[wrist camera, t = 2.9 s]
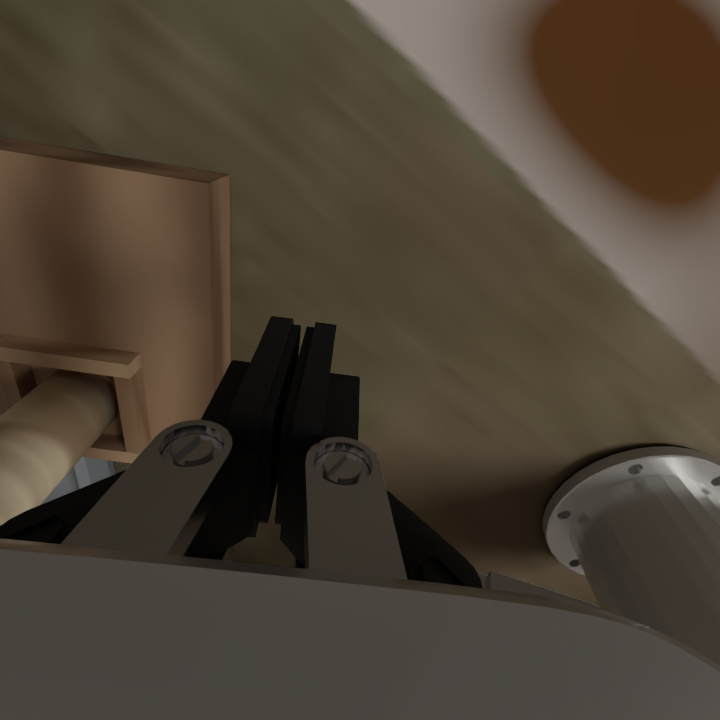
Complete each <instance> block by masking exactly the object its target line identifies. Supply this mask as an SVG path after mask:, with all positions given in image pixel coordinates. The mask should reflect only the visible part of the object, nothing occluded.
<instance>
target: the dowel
mask: <svg viewBox="0 0 720 720" xmlns="http://www.w3.org/2000/svg"><path fill="white" fill-rule="evenodd" d="M119 412H120V411H119V405H118V399H117V393H116V390H115V388H114V387H113V386H112V385H111V384H110V383H109V382H108V381H107V380H106V379H105V378H104V377H102V376H101V375H99V374H92V373H85V372H78V371H71V370H63V369H59V370H57V371H56V372H55V373H53V374H52V375H51V376H50V377H48V378H47V379H46V380H45V381H43V382H42V383H41V384H40V385H38V386H37V387H36V388H35V389H33V390H32V391H31V392H30V393H28V394H27V395H26V396H24V397H23V398H22V399H21V400H19V401H18V402H17V403H16V404H14V405H13V406H12V407H11V408H9V409H8V410H7V411H6V412H4V413H3V414H2V415H1V416H0V525H3V524H4V523H5V522H7V521H8V520H9V519H11V518H13V517H15V516H17V515H19V514H21V513H23V512H25V511H27V510H29V509H32V508H34V507H37V506H39V505H41V503H42V502H43V501H44V500H45V499H46V498H47V496H48V495H49V494H50V493H51V492H52V491H53V490H54V488H55V487H56V486H57V485H58V484H59V483H60V481H61V480H62V479H63V478H64V477H65V476H66V475H67V473H68V472H69V471H70V470H71V469H72V468H73V467H74V465H75V464H76V463H77V462H78V461H79V460H80V458H81V457H82V456H83V455H84V454H85V453H86V452H87V450H88V449H89V448H90V447H91V446H92V445H93V443H94V442H95V441H96V440H97V439H98V438H99V437H100V435H101V434H102V433H103V432H104V431H105V430H106V428H107V427H108V426H109V425H110V424H111V423H112V422H113V420H114V419H115V418H116V417H117V416H118V414H119Z"/></svg>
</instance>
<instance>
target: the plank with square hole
mask: <svg viewBox="0 0 720 720" xmlns="http://www.w3.org/2000/svg"><path fill="white" fill-rule="evenodd" d="M230 363H231V362H230V175H229V174H223V173H217V172H211V171H205V170H199V169H193V168H187V167H180V166H174V165H168V164H162V163H156V162H150V161H144V160H138V159H131V158H125V157H119V156H113V155H107V154H101V153H95V152H89V151H83V150H76V149H70V148H64V147H58V146H52V145H46V144H40V143H34V142H28V141H21V140H15V139H9V138H3V137H0V412H1V415H2V414H3V413H4V412H6V411H7V410H8V409H9V408H11V407H12V406H13V405H14V404H16V403H17V402H18V401H19V400H21V399H22V398H23V397H24V396H26V395H27V394H28V393H30V392H31V391H32V390H33V389H35V388H36V387H37V386H38V385H40V384H41V383H42V382H43V381H45V380H46V379H47V378H48V377H50V376H51V375H52V374H53V373H55V372H56V371H57V370H59V369H63V370H71V371H78V372H85V373H92V374H99V375H101V376H102V377H104V378H105V379H106V380H107V381H108V382H109V383H110V384H111V385H112V386H113V387H114V388H115V390H116V393H117V399H118V405H119V411H120V412H119V414H118V416H117V417H116V418H115V419H114V420H113V422H112V423H111V424H110V425H109V426H108V427H107V428H106V430H105V431H104V432H103V433H102V434H101V435H100V437H99V438H98V439H97V440H96V441H95V442H94V443H93V445H92V446H91V447H90V448H89V449H88V450H87V452H86V453H85V454H84V455H83V456H82V457H86V458H94V459H101V460H109V461H116V462H124V463H133V461H134V460H135V459H136V458H137V457H138V456H139V455H140V454H141V452H142V451H143V450H144V449H145V448H146V447H147V446H148V445H149V443H150V442H151V441H152V440H153V439H154V438H155V437H156V436H157V435H158V434H159V433H160V432H161V431H163V430H164V429H165V428H167V427H169V426H171V425H173V424H176V423H180V422H183V421H188V420H201V418H202V416H203V414H204V412H205V410H206V408H207V406H208V405H209V403H210V401H211V399H212V397H213V395H214V393H215V391H216V389H217V387H218V385H219V384H220V382H221V380H222V378H223V376H224V374H225V372H226V370H227V368H228V366H229V364H230Z"/></svg>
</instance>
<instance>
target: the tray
mask: <svg viewBox="0 0 720 720" xmlns="http://www.w3.org/2000/svg"><path fill="white" fill-rule="evenodd" d="M0 416H1V412H0ZM112 475H115V471H114V466H113V461H109V460H101V459H94V458H86V457H81V458H80V460H79V461H78V462H77V463H76V464H75V465H74V467H73V468H72V469H71V470H70V471H69V472H68V473H67V475H66V476H65V477H64V478H63V479H62V480H61V481H60V483H59V484H58V485H57V486H56V487H55V488H54V490H53V491H52V492H51V493H50V494H49V495H48V496H47V498H46V499H45V500H44V501H43V502H42V503H41V505H42V504H44V503H46V502H49V501H51V500H54V499H56V498H59V497H61V496H63V495H66V494H68V493H71V492H73V491H76V490H78V489H80V488H83V487H85V486H88V485H90V484H93V483H95V482H98V481H100V480H102V479H105V478H107V477H110V476H112Z"/></svg>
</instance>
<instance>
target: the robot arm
mask: <svg viewBox="0 0 720 720" xmlns="http://www.w3.org/2000/svg"><path fill="white" fill-rule="evenodd" d="M300 330H301V326H300V325H293V319H289V318H282V317H275V316H271V318H270V320H269V323H268V325H267V327H266V329H265V332H264V334H263V336H262V338H261V340H260V343H259V345H258V347H257V349H256V352H255V354H254V356H253V358H252V361H251V362H243V361H235V360H233V361H232V362H231V363H230V364H229V366H228V368H227V370H226V372H225V374H224V376H223V378H222V380H221V382H220V384H219V385H218V387H217V389H216V391H215V393H214V395H213V397H212V399H211V401H210V403H209V405H208V406H207V408H206V410H205V412H204V414H203V416H202V418H201V420H188V421H183V422H180V423H176V424H173V425H171V426H169V427H167V428H165V429H164V430H163V431H161V432H160V433H159V434H158V435H157V436H156V437H155V438H154V439H153V440H152V441H151V442H150V443H149V445H148V446H147V447H146V448H145V449H144V450H143V451H142V452H141V454H140V455H139V456H138V457H137V458H136V459H135V460H134V461H133V463H132V464H131V465H130V466H129V467H128V468H127V469H126V470H124V471H122V472H119V473H117V474H115V475H112V476H110V477H107V478H105V479H102V480H100V481H98V482H95V483H93V484H90V485H88V486H85V487H83V488H80V489H78V490H76V491H73V492H71V493H68V494H66V495H63V496H61V497H59V498H56V499H54V500H51V501H49V502H46V503H44V504H42V505H39V506H37V507H34V508H32V509H29V510H27V511H25V512H23V513H21V514H19V515H17V516H15V517H13V518H11V519H9V520H8V521H7V522H5V523H4V524H3V525H0V720H720V463H719V462H718V461H717V460H715V459H713V458H711V457H710V456H708V455H706V454H704V453H701V452H698V451H695V450H692V449H687V448H680V447H673V446H661V447H646V448H639V449H632V450H628V451H624V452H621V453H617V454H613V455H611V456H608V457H606V458H603V459H601V460H599V461H596V462H594V463H592V464H590V465H589V466H587V467H585V468H583V469H582V470H580V471H578V472H577V473H576V474H574V475H573V476H572V477H571V478H569V479H568V480H567V481H566V482H564V483H563V485H562V486H561V487H560V488H559V489H558V490H557V491H556V492H555V493H554V495H553V496H552V498H551V499H550V501H549V503H548V504H547V506H546V509H545V512H544V516H543V527H542V529H543V533H544V536H545V539H546V542H547V544H548V546H549V549H550V551H551V553H552V554H553V555H554V557H555V558H556V559H557V560H558V561H559V562H560V563H561V564H563V565H564V566H565V567H567V568H568V569H570V570H573V571H575V572H577V573H579V574H582V575H586V578H587V580H588V582H589V584H590V586H591V589H592V591H593V593H594V595H595V598H596V600H597V602H598V604H599V606H600V607H598V606H596V605H594V604H592V603H589V602H586V601H583V600H580V599H577V598H573V597H570V596H567V595H564V594H561V593H558V592H555V591H552V590H549V589H546V588H543V587H540V586H536V585H533V584H530V583H527V582H524V581H521V580H518V579H515V578H512V577H509V576H506V575H502V574H499V573H496V572H493V571H490V572H489V574H488V576H486V575H483V574H480V573H477V572H476V570H475V568H474V567H473V566H472V565H471V564H470V563H469V562H468V561H467V559H466V558H465V557H464V556H462V555H461V554H460V553H459V552H458V551H457V550H455V549H454V548H453V547H452V546H451V545H450V544H449V543H447V542H446V541H445V540H444V539H443V538H442V537H440V536H439V535H438V534H437V533H436V532H435V531H434V530H432V529H431V528H430V527H429V526H428V525H427V524H425V523H424V522H423V521H422V520H421V519H420V518H419V517H417V516H416V515H415V514H414V513H413V512H412V511H410V510H409V509H408V508H407V507H406V506H405V505H404V504H402V503H401V502H400V501H399V500H398V499H397V498H395V497H394V496H393V495H392V494H391V493H390V492H389V491H387V490H386V487H385V482H384V478H383V474H382V470H381V466H380V462H379V460H378V458H377V455H376V454H375V453H374V452H373V451H372V449H371V448H370V447H368V446H367V445H365V444H364V443H362V442H360V441H358V425H359V385H360V378H359V377H357V376H349V375H342V374H334V373H330V369H331V362H332V354H333V347H334V339H335V332H336V325H333V324H325V323H318V322H316V323H315V327H307V328H306V331H305V335H304V339H303V343H302V346H301V350H300V354H299V342H300ZM298 354H299V358H298ZM277 482H278V485H277ZM276 486H277V500H276V514H275V524H281V535H280V539H281V541H282V542H283V543H284V544H285V545H286V547H287V548H288V549H289V550H290V551H291V553H292V554H293V555H294V556H295V558H294V567H284V566H274V565H264V564H255V563H245V562H235V561H230V560H231V556H232V553H233V546H234V545H235V544H237V543H238V542H240V541H242V540H243V539H245V538H247V537H255V536H256V532H257V528H258V524H259V522H262V523H268V520H269V516H270V512H271V508H272V503H273V499H274V495H275V491H276Z"/></svg>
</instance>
